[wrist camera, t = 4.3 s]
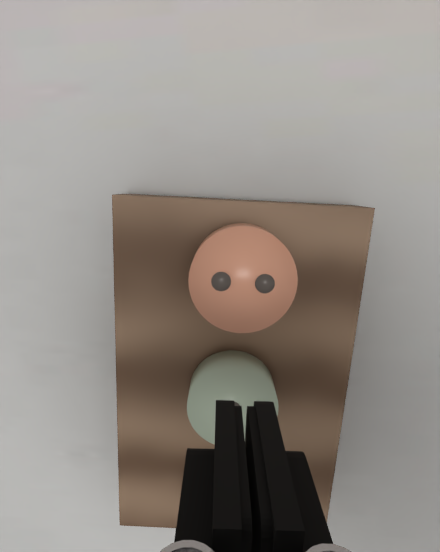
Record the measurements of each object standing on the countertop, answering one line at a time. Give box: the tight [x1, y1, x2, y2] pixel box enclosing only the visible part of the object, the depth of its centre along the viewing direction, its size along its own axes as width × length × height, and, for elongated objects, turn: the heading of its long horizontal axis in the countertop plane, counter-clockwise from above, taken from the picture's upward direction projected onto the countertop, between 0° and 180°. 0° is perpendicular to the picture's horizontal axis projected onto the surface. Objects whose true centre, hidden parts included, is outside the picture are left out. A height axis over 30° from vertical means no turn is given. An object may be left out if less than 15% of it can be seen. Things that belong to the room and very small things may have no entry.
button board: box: [112, 194, 375, 528], centre depth 23 cm, size 22×14×3 cm, turn 177°
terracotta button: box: [188, 223, 298, 333], centre depth 17 cm, size 5×5×2 cm
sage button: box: [187, 350, 279, 445], centre depth 20 cm, size 5×5×2 cm
